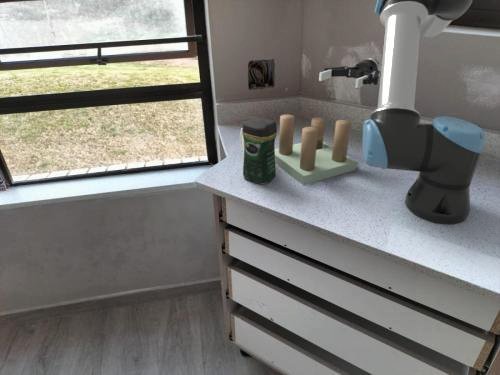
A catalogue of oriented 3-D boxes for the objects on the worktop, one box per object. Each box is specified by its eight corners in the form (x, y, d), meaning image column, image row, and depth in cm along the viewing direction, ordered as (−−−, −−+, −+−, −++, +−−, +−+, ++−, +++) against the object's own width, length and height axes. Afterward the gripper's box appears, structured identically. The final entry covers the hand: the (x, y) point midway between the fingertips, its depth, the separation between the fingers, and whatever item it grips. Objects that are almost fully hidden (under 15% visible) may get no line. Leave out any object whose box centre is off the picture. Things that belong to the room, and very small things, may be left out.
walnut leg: (324, 154, 125) (328, 120, 118) (313, 157, 123) (316, 122, 117) (316, 149, 128) (319, 116, 122) (306, 152, 126) (308, 118, 120)
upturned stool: (356, 169, 115) (363, 124, 107) (302, 185, 107) (306, 137, 99) (317, 146, 130) (321, 105, 122) (268, 158, 122) (269, 115, 114)
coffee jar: (279, 177, 111) (282, 118, 102) (264, 187, 106) (265, 126, 96) (254, 168, 116) (254, 111, 107) (238, 178, 111) (237, 119, 101)
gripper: (399, 85, 128) (371, 98, 115) (337, 75, 143) (305, 85, 129) (404, 63, 125) (375, 74, 111) (339, 54, 139) (307, 63, 126)
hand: (337, 80), depth 120 cm, fingers open, 13 cm apart
